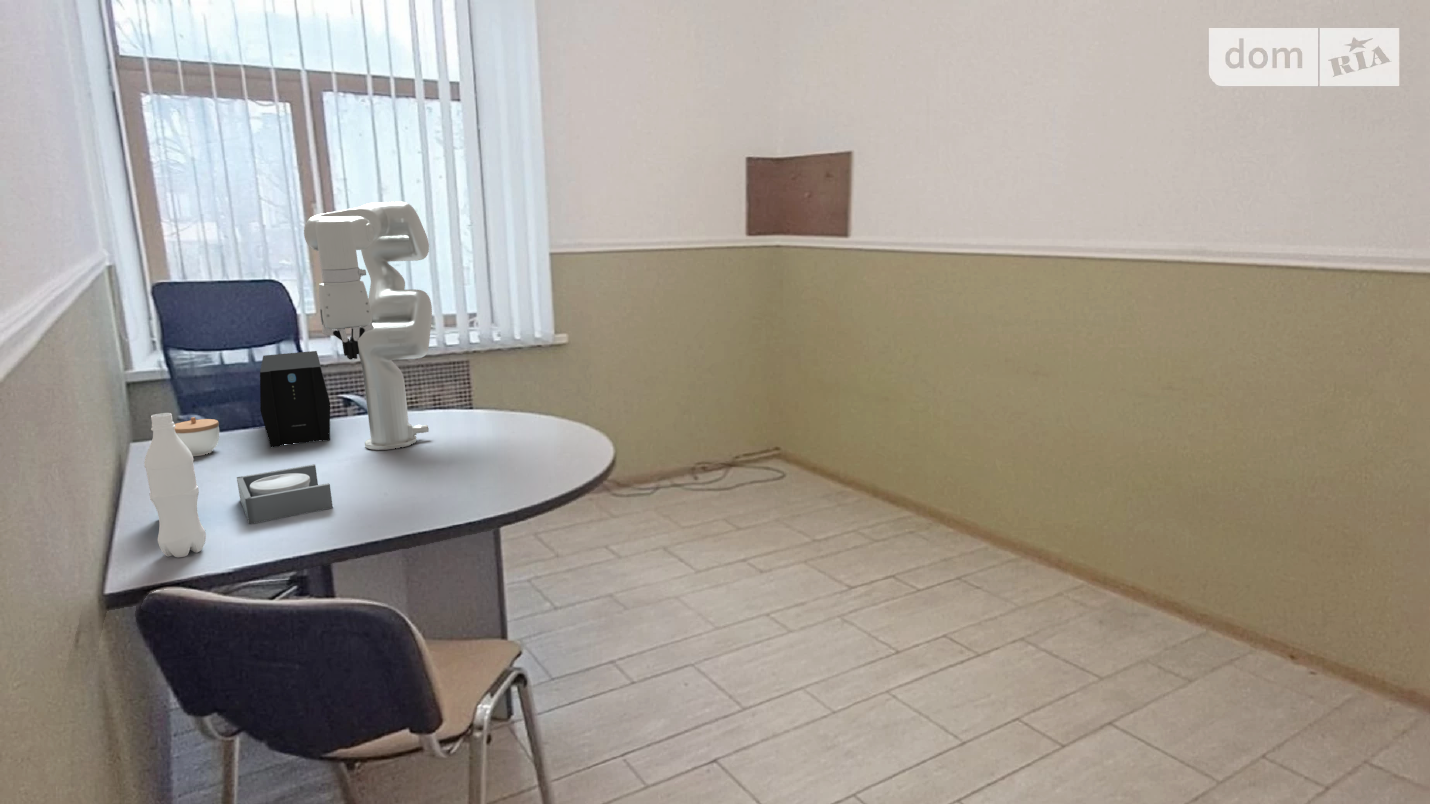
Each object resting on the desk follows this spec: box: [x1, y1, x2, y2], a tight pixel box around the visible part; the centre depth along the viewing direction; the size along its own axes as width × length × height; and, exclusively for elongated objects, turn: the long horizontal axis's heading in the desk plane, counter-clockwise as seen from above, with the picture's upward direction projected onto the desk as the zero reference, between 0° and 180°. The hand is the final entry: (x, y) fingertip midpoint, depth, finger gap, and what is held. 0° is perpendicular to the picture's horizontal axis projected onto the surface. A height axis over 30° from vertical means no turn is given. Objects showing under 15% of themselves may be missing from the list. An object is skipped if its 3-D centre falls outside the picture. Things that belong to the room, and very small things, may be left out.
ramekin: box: [250, 473, 310, 497], centre depth 173 cm, size 11×11×5 cm
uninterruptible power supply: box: [259, 350, 331, 448], centre depth 235 cm, size 16×34×20 cm, turn 26°
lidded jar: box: [174, 416, 220, 457], centre depth 214 cm, size 11×11×9 cm
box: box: [236, 464, 334, 525], centre depth 173 cm, size 15×18×5 cm
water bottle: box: [143, 412, 207, 558], centre depth 146 cm, size 7×7×25 cm
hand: (352, 358), depth 190 cm, fingers closed
